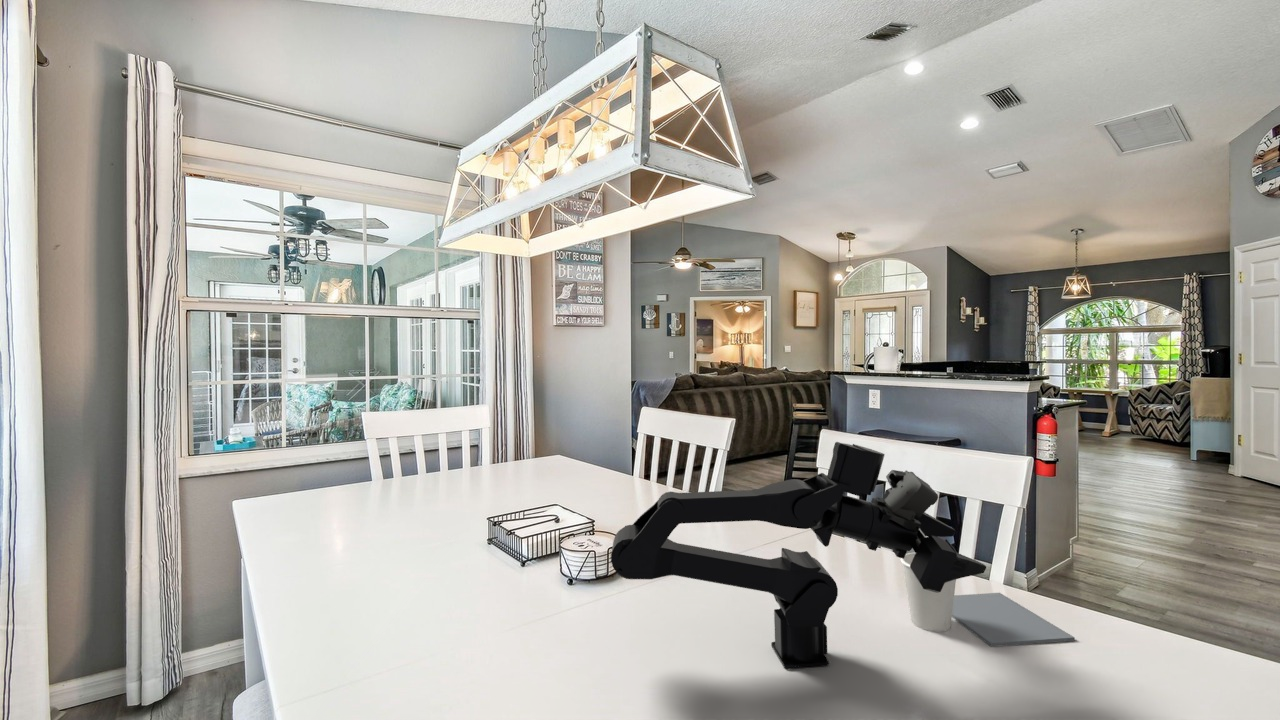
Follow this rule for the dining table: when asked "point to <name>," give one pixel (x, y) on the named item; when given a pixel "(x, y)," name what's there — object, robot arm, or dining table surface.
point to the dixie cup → (928, 601)
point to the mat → (1004, 621)
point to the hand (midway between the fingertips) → (968, 550)
